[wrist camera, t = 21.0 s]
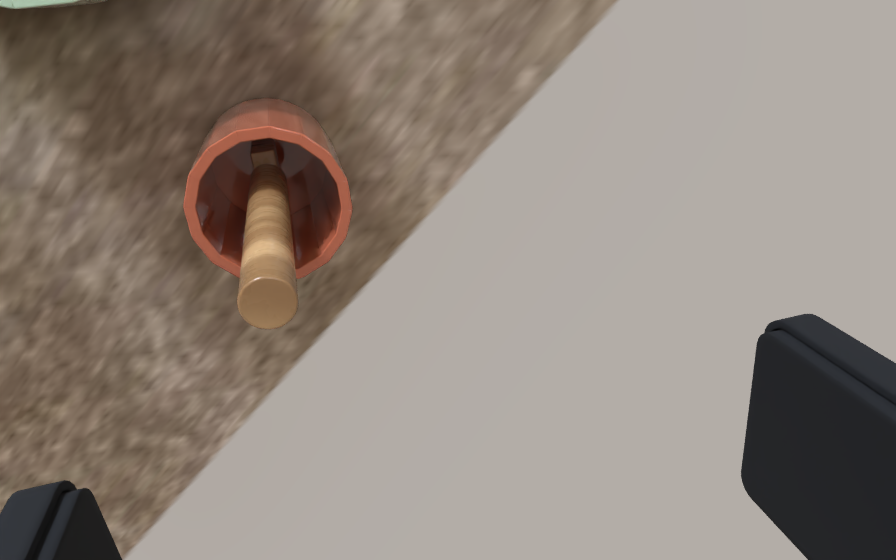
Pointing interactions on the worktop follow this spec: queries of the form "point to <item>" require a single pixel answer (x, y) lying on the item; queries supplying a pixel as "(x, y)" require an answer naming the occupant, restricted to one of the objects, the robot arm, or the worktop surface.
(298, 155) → the crock
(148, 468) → the worktop surface
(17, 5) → the bowl
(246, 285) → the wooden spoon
